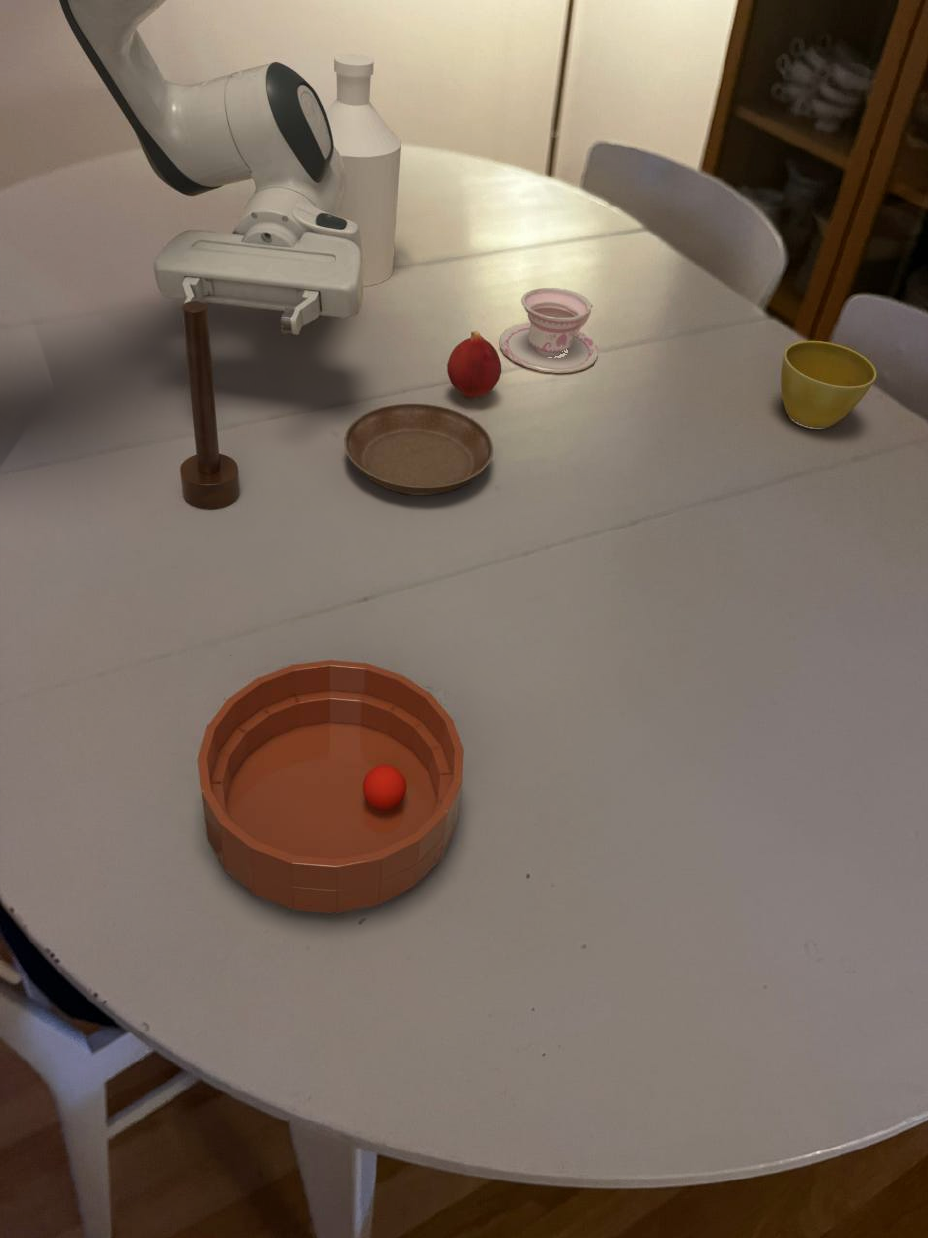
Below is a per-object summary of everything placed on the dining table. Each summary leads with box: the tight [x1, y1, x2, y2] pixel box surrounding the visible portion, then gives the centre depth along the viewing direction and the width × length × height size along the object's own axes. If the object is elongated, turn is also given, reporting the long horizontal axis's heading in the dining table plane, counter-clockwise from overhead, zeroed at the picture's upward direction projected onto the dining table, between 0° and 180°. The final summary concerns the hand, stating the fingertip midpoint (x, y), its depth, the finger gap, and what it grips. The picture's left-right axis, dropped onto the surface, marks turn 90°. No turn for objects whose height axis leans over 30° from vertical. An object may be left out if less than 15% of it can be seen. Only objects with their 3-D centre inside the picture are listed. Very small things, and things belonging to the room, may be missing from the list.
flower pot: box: [780, 340, 877, 429], centre depth 115 cm, size 10×10×7 cm
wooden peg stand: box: [179, 301, 240, 510], centre depth 90 cm, size 5×5×19 cm
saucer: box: [343, 403, 494, 496], centre depth 102 cm, size 15×15×3 cm
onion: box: [446, 330, 502, 401], centre depth 111 cm, size 6×6×8 cm
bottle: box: [325, 53, 402, 288], centre depth 126 cm, size 12×12×25 cm
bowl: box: [196, 659, 465, 914], centre depth 69 cm, size 17×17×6 cm
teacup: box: [499, 287, 599, 374], centre depth 121 cm, size 12×12×6 cm
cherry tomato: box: [363, 765, 406, 809], centre depth 70 cm, size 3×3×3 cm
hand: (239, 321), depth 95 cm, fingers open, 8 cm apart
